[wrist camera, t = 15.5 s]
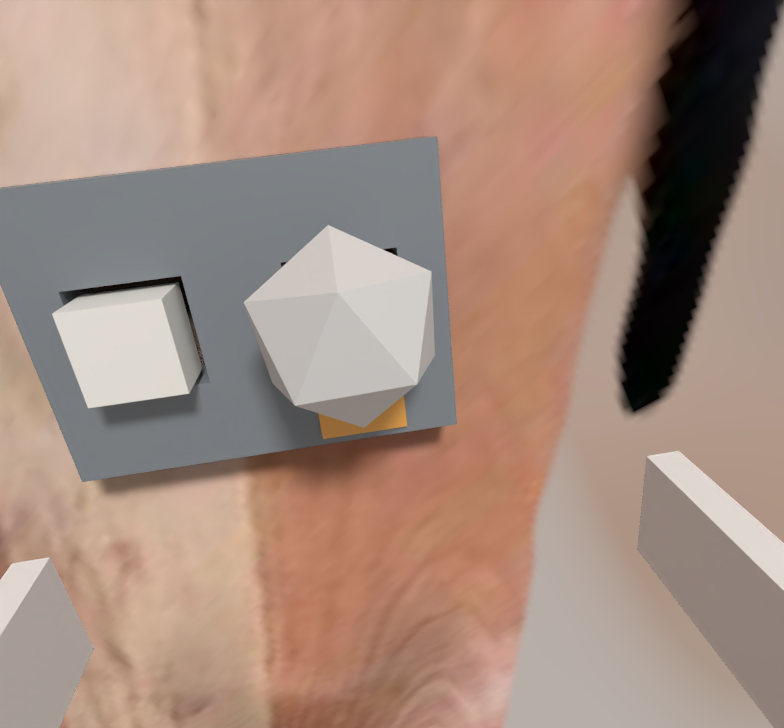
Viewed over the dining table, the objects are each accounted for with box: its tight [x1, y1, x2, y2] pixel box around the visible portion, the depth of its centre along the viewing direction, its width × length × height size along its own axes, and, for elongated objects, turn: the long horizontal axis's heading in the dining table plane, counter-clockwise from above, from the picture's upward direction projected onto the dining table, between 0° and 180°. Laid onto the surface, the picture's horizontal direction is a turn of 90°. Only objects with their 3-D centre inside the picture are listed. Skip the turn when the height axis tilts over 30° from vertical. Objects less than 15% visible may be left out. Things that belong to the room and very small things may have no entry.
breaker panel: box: [0, 137, 457, 482], centre depth 30 cm, size 22×16×3 cm
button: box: [52, 282, 202, 408], centre depth 27 cm, size 5×5×3 cm
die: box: [244, 225, 435, 428], centre depth 25 cm, size 8×9×10 cm
